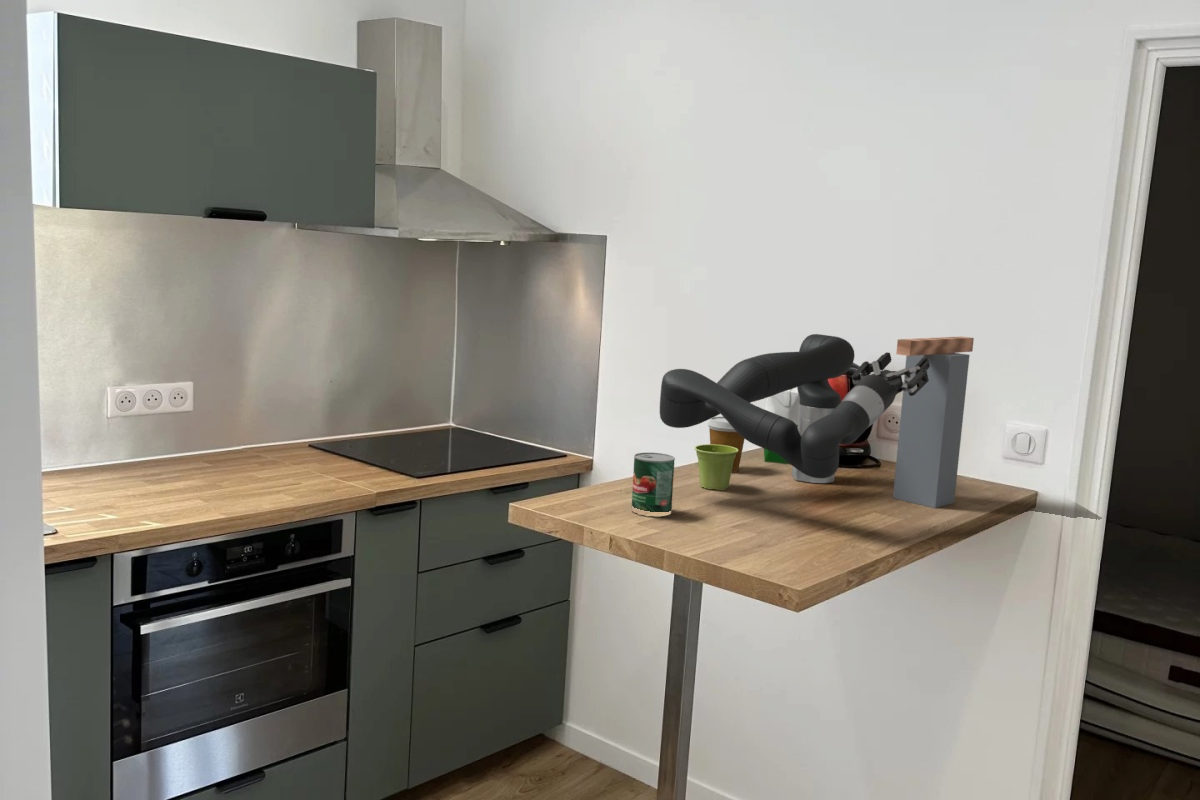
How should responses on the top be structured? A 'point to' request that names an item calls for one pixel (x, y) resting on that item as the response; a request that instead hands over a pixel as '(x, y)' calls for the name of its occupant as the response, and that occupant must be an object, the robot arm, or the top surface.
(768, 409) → the milk carton
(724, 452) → the plant pot
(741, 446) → the disposable coffee cup
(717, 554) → the top surface
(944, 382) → the pedestal
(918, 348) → the batten
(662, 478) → the canned tomato
